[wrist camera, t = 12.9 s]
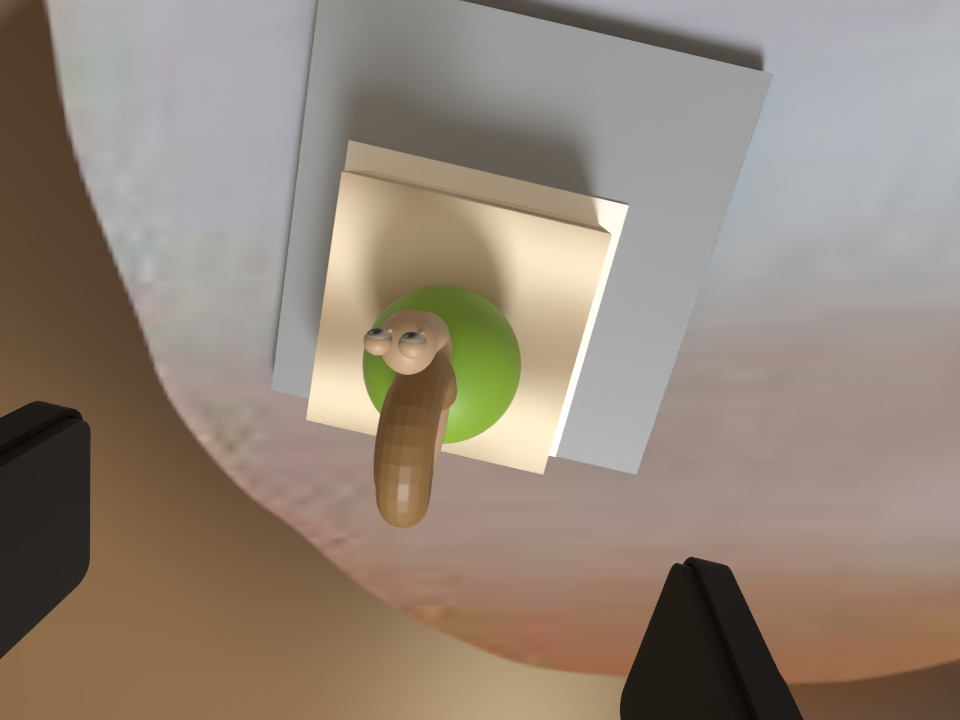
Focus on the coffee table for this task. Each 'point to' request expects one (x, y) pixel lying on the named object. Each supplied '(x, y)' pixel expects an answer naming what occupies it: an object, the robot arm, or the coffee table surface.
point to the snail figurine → (433, 387)
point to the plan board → (531, 174)
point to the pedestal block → (465, 264)
